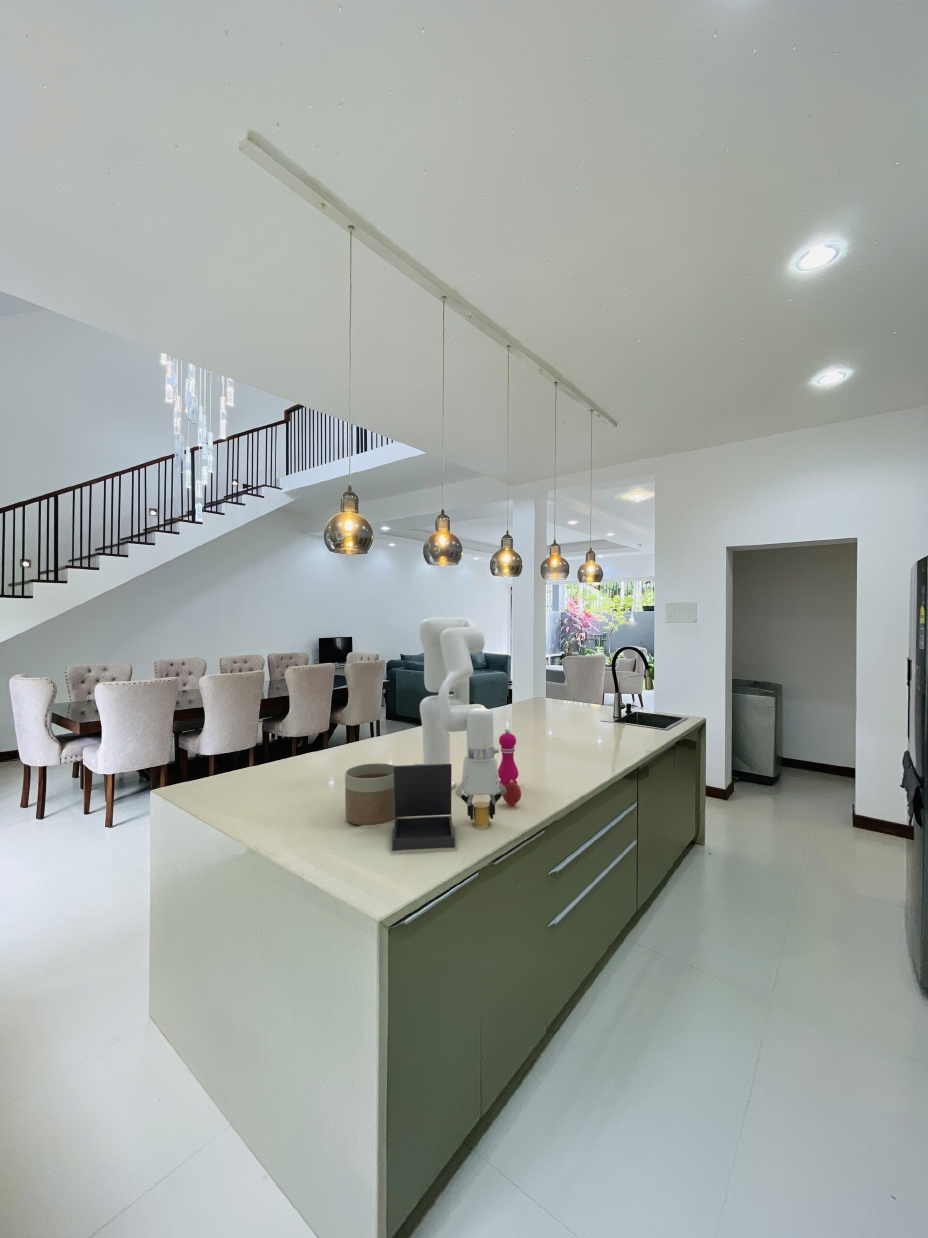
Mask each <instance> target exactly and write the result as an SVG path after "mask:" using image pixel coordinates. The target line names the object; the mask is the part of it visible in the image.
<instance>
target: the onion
mask: <svg viewBox="0 0 928 1238" xmlns="http://www.w3.org/2000/svg"><path fill="white" fill-rule="evenodd" d="M505 788H506V790H507V792H506V793H505V794H504V795H503V796H502V799H503V800H504V803H506V804H508V805H509V806H510V807H514V806H515V805H517V803H519V801H521V798H522V791H521V789H520V786H518V784H517V785H516V784H515V783H514V781H513V780H510V782H509V784H507V785H506V786H505Z"/></svg>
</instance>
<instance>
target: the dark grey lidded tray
mask: <svg viewBox="0 0 928 1238" xmlns="http://www.w3.org/2000/svg"><path fill="white" fill-rule="evenodd" d="M393 824H394V825H393V831H392V840H391V841H392V842H391V843H392V845H391V848H392V851H407V850H410V851H411V850H428V849H449V848H456V836H455V830H454V824H453V818H452V815H434V816H412V817H397V818H395V819H394V823H393Z"/></svg>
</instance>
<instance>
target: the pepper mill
mask: <svg viewBox="0 0 928 1238" xmlns="http://www.w3.org/2000/svg"><path fill="white" fill-rule="evenodd" d="M516 738H517V737H516V735H514V734H513V733H511V730H510V729H509V728H506V729H505V730H504V733H502V734H501V735H500V736H499V738H498V743H499V746H500V752H501V761H500V764H499V767H498V775H499V781H500V782H501V783H502V785H503V786H504V787H505V786H506V785H507V784H509V782H510V780H513V781H514V783H515V784H516V785H517V786H518V781H517V779H518V777H519V770H518V766H517V765H516V763H515V759H514V758H515V757H514V753H515V752H516V747H515V746H516V744H517V739H516Z"/></svg>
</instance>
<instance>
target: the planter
mask: <svg viewBox="0 0 928 1238" xmlns="http://www.w3.org/2000/svg"><path fill="white" fill-rule="evenodd" d="M394 766H395V765H394V764H392V763H391V764H390V763H375V762H374V763H364V764H359V765H355V766H352V767H349V768H348V769H347V770H346V771H345V772H344V793H345V794H344V798H345V800H344V802H345V803H344V804H345V819H346V821H348V822H349V823H351V824H353V825H358V826H375V825H376V826H377V825H382V824H386V823H389V822H392V821H395V818H398V817H395V796H394Z"/></svg>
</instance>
